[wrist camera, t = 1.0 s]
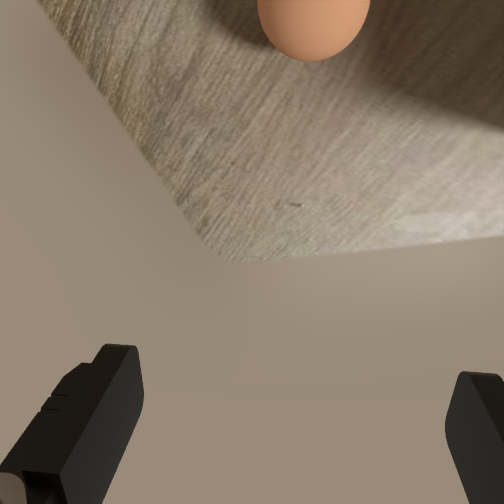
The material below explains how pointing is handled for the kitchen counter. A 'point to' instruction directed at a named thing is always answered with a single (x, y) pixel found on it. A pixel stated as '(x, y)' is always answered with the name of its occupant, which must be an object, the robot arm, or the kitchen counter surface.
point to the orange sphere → (312, 25)
